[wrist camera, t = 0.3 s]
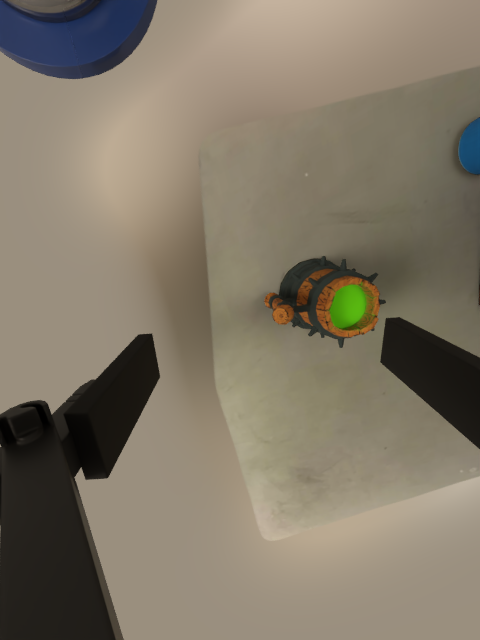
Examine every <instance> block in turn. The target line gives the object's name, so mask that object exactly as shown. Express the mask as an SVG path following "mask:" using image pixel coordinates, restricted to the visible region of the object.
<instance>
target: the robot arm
mask: <svg viewBox="0 0 480 640" xmlns="http://www.w3.org/2000/svg"><path fill="white" fill-rule="evenodd" d="M2 1H3V2H4V3H5V4H6V5H8V6H9V7H11V8H12V9H14V10H15V11H17V12H19V13H21V14H23V15H25V16H27V17H29V18H32V19H35V20H39V21H43V22H50V23H61V22H68V21H72V20H75V19H78V18H80V17H82V16H84V15H86V14H87V13H89V12H90V11H91V10H92V9H94V8H95V7H96V6H97V5H98V3H99V2H100V1H101V0H2ZM380 362H381V363H382V364H383V365H384V366H385V367H386V368H388V369H389V370H390V371H391V372H392V373H393V374H394V375H396V376H397V377H398V378H399V379H400V380H401V381H402V382H404V383H405V384H406V385H407V386H408V387H409V388H410V389H412V390H413V391H414V392H415V393H416V394H417V395H418V396H420V397H421V398H422V399H423V400H424V401H425V402H426V403H428V404H429V405H430V406H431V407H432V408H433V409H434V410H436V411H437V412H438V413H439V414H440V415H441V416H442V417H444V418H445V419H446V420H447V421H448V422H449V423H450V424H452V425H453V426H454V427H455V428H456V429H457V430H458V431H460V432H461V433H462V434H463V435H464V436H465V437H466V438H468V439H469V440H470V441H471V442H472V443H473V444H474V445H476V446H477V447H478V448H479V449H480V358H479V357H477V356H475V355H473V354H471V353H469V352H467V351H465V350H463V349H461V348H459V347H457V346H455V345H453V344H451V343H449V342H447V341H445V340H444V339H442V338H440V337H438V336H436V335H434V334H432V333H430V332H428V331H426V330H424V329H422V328H420V327H418V326H416V325H414V324H412V323H410V322H408V321H406V320H404V319H402V318H400V317H398V318H386V322H385V330H384V337H383V345H382V353H381V361H380ZM159 378H160V374H159V368H158V363H157V358H156V352H155V347H154V341H153V336H152V334H140V335H138V336H137V337H136V338H135V339H134V340H133V341H132V342H131V343H130V344H129V345H128V346H127V347H126V348H125V349H124V350H123V351H122V352H121V354H120V355H119V356H118V357H117V358H116V359H115V360H114V361H113V362H112V363H111V364H110V365H109V367H107V368H106V369H105V370H104V372H103V373H102V374H101V375H100V376H99V377H98V378H97V379H96V380H90V381H89V382H87V383H85V384H84V385H82V386H80V387H79V389H77V390H76V391H75V392H74V393H73V395H72V396H70V397H69V398H68V399H67V400H66V402H64V403H63V404H62V405H61V406H60V407H59V408H58V409H57V410H56V411H55V412H54V413H53V414H52V415H51V412H50V409H49V406H48V404H47V403H46V402H45V401H41V400H37V401H30V402H26V403H23V404H20V405H17V406H15V407H13V408H10V409H9V410H7V411H5V412H4V413H2V414H0V444H1V447H0V525H1V533H0V640H124V639H123V636H122V633H121V630H120V626H119V623H118V620H117V616H116V613H115V610H114V606H113V603H112V600H111V596H110V593H109V590H108V586H107V583H106V580H105V576H104V573H103V570H102V566H101V564H100V560H99V557H98V553H97V550H96V547H95V543H94V541H93V537H92V533H91V530H90V527H89V523H88V520H87V517H86V514H85V510H84V507H83V504H82V500H81V497H80V494H79V490H78V487H77V484H76V481H75V478H74V477H75V476H76V474H77V473H78V471H79V469H80V468H81V467H82V470H83V473H84V476H85V479H86V480H88V479H104V478H108V477H109V475H110V473H111V471H112V469H113V467H114V465H115V463H116V461H117V459H118V457H119V455H120V453H121V452H122V450H123V448H124V446H125V444H126V442H127V440H128V438H129V436H130V434H131V432H132V430H133V428H134V426H135V424H136V423H137V421H138V419H139V417H140V415H141V413H142V411H143V409H144V407H145V405H146V403H147V401H148V399H149V397H150V395H151V393H152V391H153V389H154V388H155V386H156V384H157V381H158V380H159Z"/></svg>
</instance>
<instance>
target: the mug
mask: <svg viewBox="0 0 480 640" xmlns="http://www.w3.org/2000/svg"><path fill="white" fill-rule="evenodd" d="M355 271H356V270H355V269H352V270H350V269H347V267H346V259H342V263H341V266H340V267H338V266H336V265H335V264H333V263H332V262H330V261H327V260H326V257H325V256H322V260H320V259H311V260H307V261H303V262H300V263H298V264H297V265H296V266H295V267H293V268H292V269H291V270H289V271H288V273H287V274H286V276H285V278H284V279H283V281H282V283H281V286H280V292H279V296H278V295H277V294H275V293H269V294H268V295H267V296H266V297H265V301H264V302H265V304H266V306H267V307H269V308H272V309H274V311H273V314H272V316H273V319H274V321H276V322H277V323H278V324H287V323H288V322H290V321H291V322H292V323H293V325H292V326H293V327H295V326H299V327H301V328H305V329H311V331H310V333H309V334H308V335H309V336H312V335H313V334H315V333H316V332H319V333H320V334H321V338H324V335H327V336H329V337H332V338H334V339H338V343H339V347H340V348H342V347H343V343H344V338H351V337H353V336H356V335H359V334H362V335H363V334H365V333H367V332H368V331H370V330H371V331H374V326H375V325H376V323H377V321H378V318H377V315H378V311H379V307H380V305H381V304H384V303H386V301H385V300H380V299H379V295H380V293H379V291H378V289H377V287H376V286H375V285H373V284H372V282H373V280H374V279H375V278H376V277H377V275H378V274H377V273H375V274H373V275H371V276H369V277H366V276H364V275H362V274H360V273H357V272H355Z"/></svg>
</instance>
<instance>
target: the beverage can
mask: <svg viewBox="0 0 480 640" xmlns="http://www.w3.org/2000/svg"><path fill="white" fill-rule="evenodd" d="M458 155H459V160H460V163H461V165H462V166H463V168H464V169H465V170H466V171H468V172H470V173H472V174H480V117H479V118H477V119H476V120H474V121H473V122H472V123H470V124H469V125H468V127H467V128H466V129H465V131H464V132H463V134H462V136H461V139H460V142H459V147H458Z"/></svg>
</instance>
